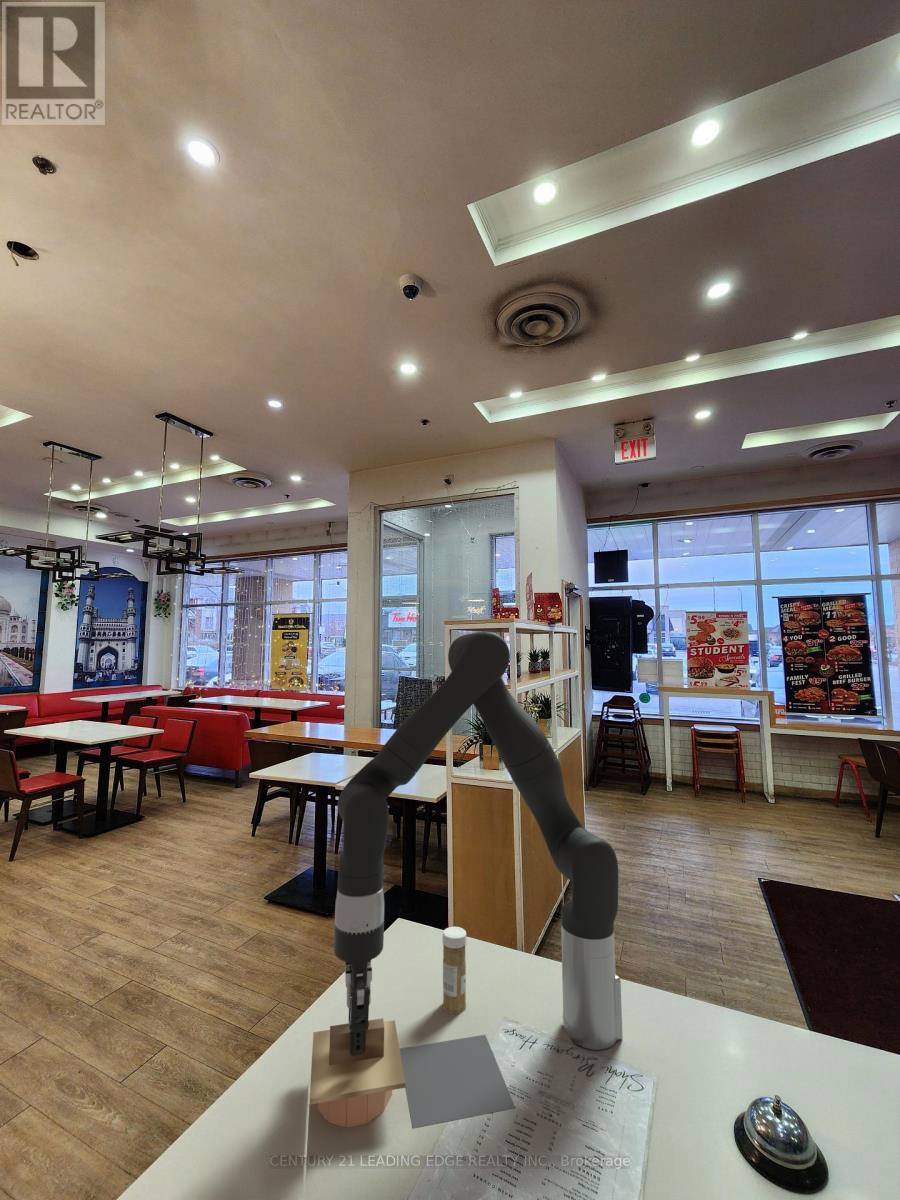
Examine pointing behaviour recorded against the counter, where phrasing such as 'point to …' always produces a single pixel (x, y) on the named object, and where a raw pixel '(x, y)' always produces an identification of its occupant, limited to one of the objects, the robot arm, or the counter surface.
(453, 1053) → the rubber mat
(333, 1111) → the terracotta ring
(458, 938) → the sprinkles bottle
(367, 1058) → the board
